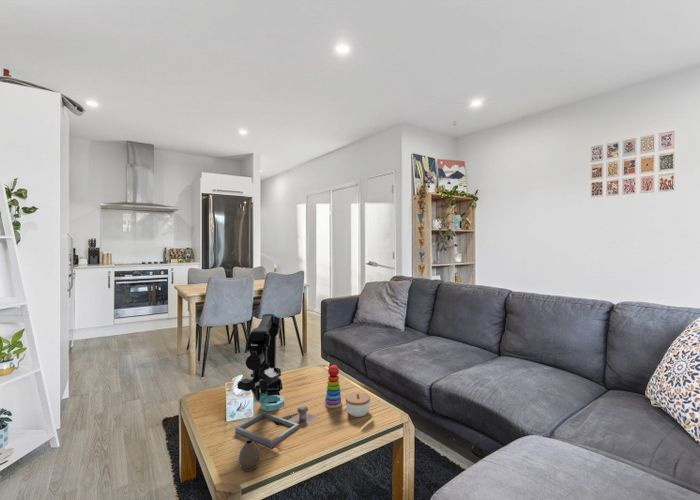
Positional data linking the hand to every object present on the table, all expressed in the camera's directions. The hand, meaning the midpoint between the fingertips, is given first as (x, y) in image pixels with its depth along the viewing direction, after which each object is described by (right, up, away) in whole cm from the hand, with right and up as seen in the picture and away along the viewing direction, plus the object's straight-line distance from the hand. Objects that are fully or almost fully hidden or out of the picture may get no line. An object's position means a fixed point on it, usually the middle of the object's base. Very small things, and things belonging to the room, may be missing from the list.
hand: (260, 399), depth 140 cm
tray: (+3, -12, -2) cm, 13 cm away
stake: (+16, -12, +5) cm, 21 cm away
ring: (+4, -1, -2) cm, 4 cm away
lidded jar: (+40, -12, +10) cm, 43 cm away
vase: (+3, -13, -24) cm, 27 cm away
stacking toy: (+29, -12, +19) cm, 36 cm away
